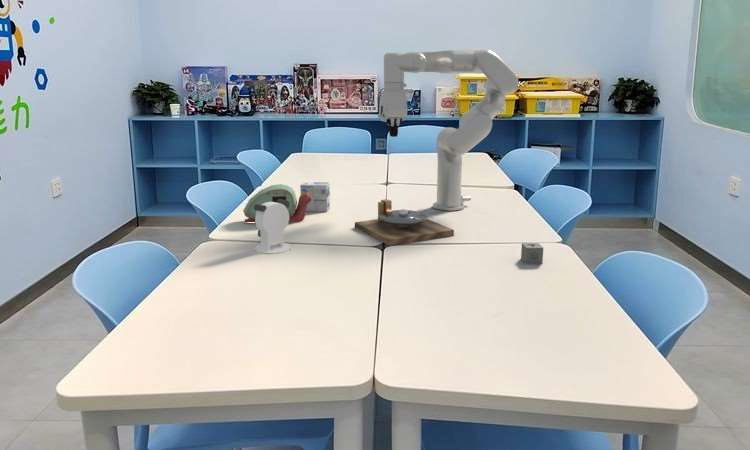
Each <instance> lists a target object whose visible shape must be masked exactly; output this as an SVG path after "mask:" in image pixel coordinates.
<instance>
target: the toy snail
mask: <svg viewBox="0 0 750 450" xmlns="http://www.w3.org/2000/svg"><path fill="white" fill-rule="evenodd" d="M306 192H307V187H306ZM306 192H305V194H302V195H301V194H300V195H299V198H298V201H297V197H296V192H295V190H294V188H292V187H290V186H289V185H287V184H282V183H281V184H271V185H269V186H267V187H265V188H263V189H260V190H259V191H257V193H255V194H254V195H253V196H251V197H250V198H249V199H248V201H247V203H246V205H245V206H244V208H243V211H242V212H243V213H244V214H243V215H244V216H245V217H246V218H245V219H244V221H245V222H255V216H256V211H257V210H254V206H255V204H260V205H262V204H264V203H267V202H275V203H277V200H278V199H282V200H287V201H288V202H289V207H288V208H287V210H288V212H289V222H290V223H299V221H300V222H302V221H304V219H305V217H306V212H307V211H306V206H307V204H308V203H309V202H310V201H311V200H312V197H311V195H310V194H306Z"/></svg>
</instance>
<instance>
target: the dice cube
mask: <svg viewBox="0 0 750 450" xmlns="http://www.w3.org/2000/svg"><path fill="white" fill-rule="evenodd" d="M520 250H521V253H520V260H521V261H522V260H523V261H522V262H523V263H524V265H543V262H544V261H543V257H544V247H543V245H541V244H540V243H539V242H521V249H520Z"/></svg>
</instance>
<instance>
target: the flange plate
mask: <svg viewBox="0 0 750 450" xmlns="http://www.w3.org/2000/svg"><path fill="white" fill-rule="evenodd" d="M380 202H384V213H382V214H381V215H380V220H381V221H382V222H385V223H388V224H394V225H414V224H420V223H423V222H425V221H426V220H427V219H428V218H427V217H428V215H427V214H426V213H424V212H421V211H419V210H418V211H417V210H411V209H410V210H408V209H403V208H402V209H397V210H396V209H395V210H392V208H393V207H392V205H393V204H392V202H393V201H392V200H391V199H386V198H385V199H381V200H380Z"/></svg>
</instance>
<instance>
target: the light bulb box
mask: <svg viewBox="0 0 750 450" xmlns="http://www.w3.org/2000/svg"><path fill="white" fill-rule="evenodd" d="M299 186H300V188H299V189H300V196H301V195H302V194H305V192H306V187H307V192H306V194H310V195H311V197H312V200H311V201H310V202H309V203H308V204H307V206H306V212H315V211H318V212H320V213H321V212H324V213H326V212H328V211H329V210H330V209H331V196H330V195H331V193H330V188H331V186H330V182H329V181H303V182H302V183H301V184H300V185H299Z"/></svg>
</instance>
